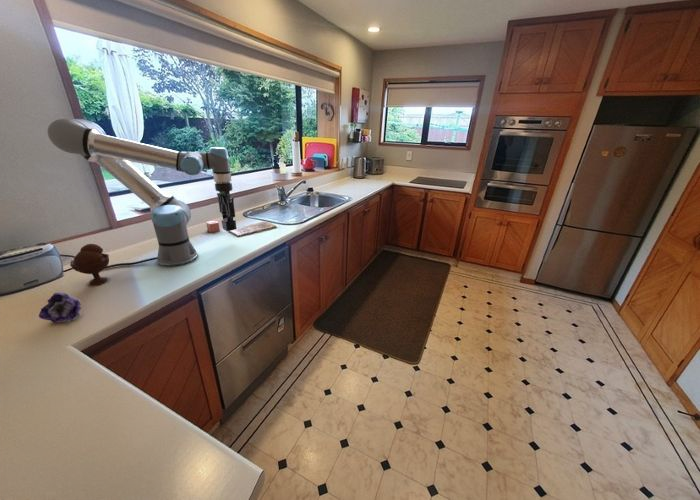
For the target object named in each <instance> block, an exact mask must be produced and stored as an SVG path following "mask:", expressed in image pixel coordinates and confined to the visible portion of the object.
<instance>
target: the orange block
mask: <svg viewBox="0 0 700 500" xmlns="http://www.w3.org/2000/svg"><path fill="white" fill-rule="evenodd" d="M205 224H206V229H207V231H208V232H209V233H210V234H212V233H216V232H220V229H221V228H220V223H219V222H218V221H217V220H210V221H206V222H205Z"/></svg>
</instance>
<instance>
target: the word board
mask: <svg viewBox="0 0 700 500" xmlns="http://www.w3.org/2000/svg"><path fill="white" fill-rule="evenodd" d="M236 228H237V229H235V230H231V231H228V232H229V233H231V234H232V235H234V236H236V237H238V238H239V237H243V236H244V237H245V236H247V235H251V234H256V233H259V232H265V231H269V230H272V229H276V228H277V225H275V224H273V223H271V222H269V221H266V220H265V221H261V222H256V223H251V224H247V225H242V226H236Z"/></svg>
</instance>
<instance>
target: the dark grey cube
mask: <svg viewBox="0 0 700 500" xmlns="http://www.w3.org/2000/svg"><path fill="white" fill-rule="evenodd" d="M233 220H234V228H235V229H237V222H236V221H237V220H236V219H234V218H233ZM221 226H222V230H224V231H226V232H229V228H228V221H227V218H226V219H223V218H222V219H221Z"/></svg>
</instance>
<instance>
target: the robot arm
mask: <svg viewBox="0 0 700 500" xmlns="http://www.w3.org/2000/svg"><path fill="white" fill-rule="evenodd" d="M47 137H48V139H49V141H50V142H51V144H53V145H54V146H55V147H56V148H57V149H59V150H61V151H63V152H66V153H69V154H75V155H80V156H81V157H83V158H84V159H85V160H86V161H88V162H90V163H96V164H97V165H99V166H100V167H101V168H102V169H104V170H105V171H106V173H108V174H110V175H111V176H112V177H113V178H114V179H116V180H117V181H118V182H119V183H120V184H122V185H123V186H124V187H125V188H126V189H128V190H129V191H130V192H131V193H133V194H134V195H135V196H136V197H137V198H139V199H140V200H141V201H142V202H143V203H145V205H147V206H148V207H149V209H150V217H151V218H150V219H151V222H152V226H153V229H154V233H155V236H156V240H157V244H158V251H157V256H156V257H151V258H147V259H142V260H139V261H133V262H120V263H114V264H113V263H112V264H110V265H109V264H108V265H107V267H106V268H104V269H103V270H106V269H109V268H114V267H119V266H134V265H139V264H142V263H146V262H151V261H155V260H157V263H158V265H160V266H162V267H178V266H184V265H187V264H189V263H191V262H194V261H195V260H196V259H197V258H198V252H197V250H196V249H195V247H194V246H193V244H192V242H191V241H190V237H189V232H188V228H187V227H188V224H189V222H190V220H191V217H192V214H191V213H192V212H191V208H190V207H189V205H188V204H187V203H185V202H184V201H182V200H178V199H177V198H176V197H175V196H174V195H172V194H167V193H165V192H164V191H163V190H162V189H161V188H160V187H159V186H158V185H156V184H155V183H154V182H153V181H152V180H150V179H149V178H148V177H147V176H146V175H145V174H144V173H142V171H140V170H139V169H138V168H137V167H136V166H134V165H133V164H132V163H138V164H142V165H146V166H153V167H158V168H162V169H168V170H173V171H177V172H182V173H185V174H186V175H189V176H196V175H199V174H201V172H202V171H203V170H212V176H213V182H215V183H214V189H215V191H216V192H217V193H216V196H217V200H218V208H219V213H221V215H222V219H226V218H227V221H228V228H229V231H231V230H235V228H234V220H233V219H234V218H236V212H235V211H236V210H235V203H234V199H235V198H234V197H232V196H231V193H230V192H232V191H233V183H232V173H231V165H230V158H229V157H230V156H229V150H228V149H227V148H226V147H220V146H219V147H218V146H216V147H214V146H213V147H209V151H189V150H188V151H178V150H173V149H169V148H164V147H160V146H155V145H151V144H146V143H142V142H138V141H134V140H130V139H125V138H120V137H116V136H111V135H107V133H106V132H105V131H104V129H103V128H102V127H101V126H100V125H99V124H97V123H95V122H93V121H91V120H89V119H85V118H60V119H55V120H54V121H52V122H50V124H49V125H48V127H47ZM229 231H228V232H229Z"/></svg>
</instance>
